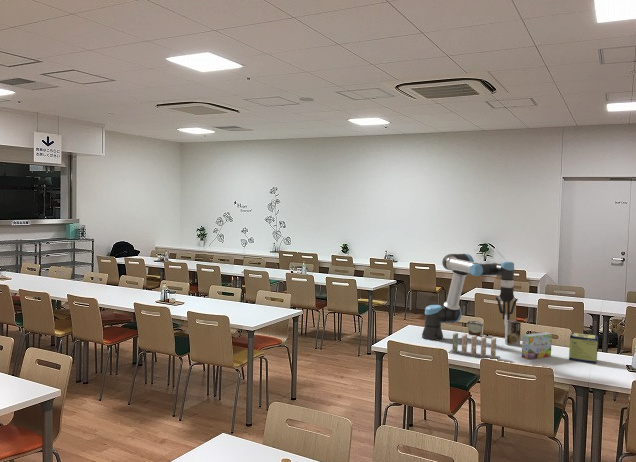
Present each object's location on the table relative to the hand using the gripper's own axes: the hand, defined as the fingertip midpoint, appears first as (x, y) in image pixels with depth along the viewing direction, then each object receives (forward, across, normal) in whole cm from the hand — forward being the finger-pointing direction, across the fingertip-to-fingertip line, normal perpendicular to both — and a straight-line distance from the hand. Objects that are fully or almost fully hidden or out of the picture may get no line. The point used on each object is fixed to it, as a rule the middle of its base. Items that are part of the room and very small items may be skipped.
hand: (505, 324), depth 326 cm
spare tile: (+22, -31, 0) cm, 38 cm away
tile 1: (+22, -7, 0) cm, 23 cm away
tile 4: (+22, -25, 0) cm, 33 cm away
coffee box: (+22, -3, +46) cm, 51 cm away
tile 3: (+22, -19, 0) cm, 29 cm away
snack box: (+22, +16, +19) cm, 33 cm away
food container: (+22, -31, +61) cm, 72 cm away
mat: (+22, -19, 0) cm, 29 cm away
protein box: (+22, +42, +29) cm, 56 cm away
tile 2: (+22, -13, 0) cm, 25 cm away
